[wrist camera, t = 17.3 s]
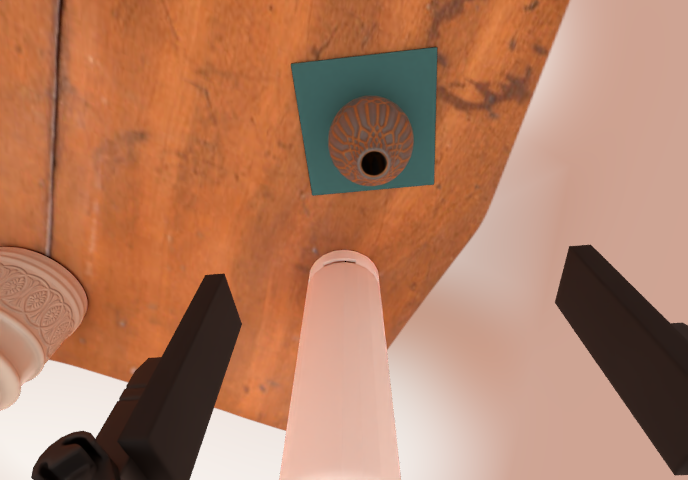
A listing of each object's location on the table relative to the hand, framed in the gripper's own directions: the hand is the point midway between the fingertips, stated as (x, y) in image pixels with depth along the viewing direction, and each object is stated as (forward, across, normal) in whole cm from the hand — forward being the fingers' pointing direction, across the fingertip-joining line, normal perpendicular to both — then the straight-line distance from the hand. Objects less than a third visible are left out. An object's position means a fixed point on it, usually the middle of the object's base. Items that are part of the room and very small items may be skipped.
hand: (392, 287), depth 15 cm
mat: (+23, 0, 0) cm, 23 cm away
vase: (+22, 0, 0) cm, 22 cm away
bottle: (+23, -4, -17) cm, 29 cm away
